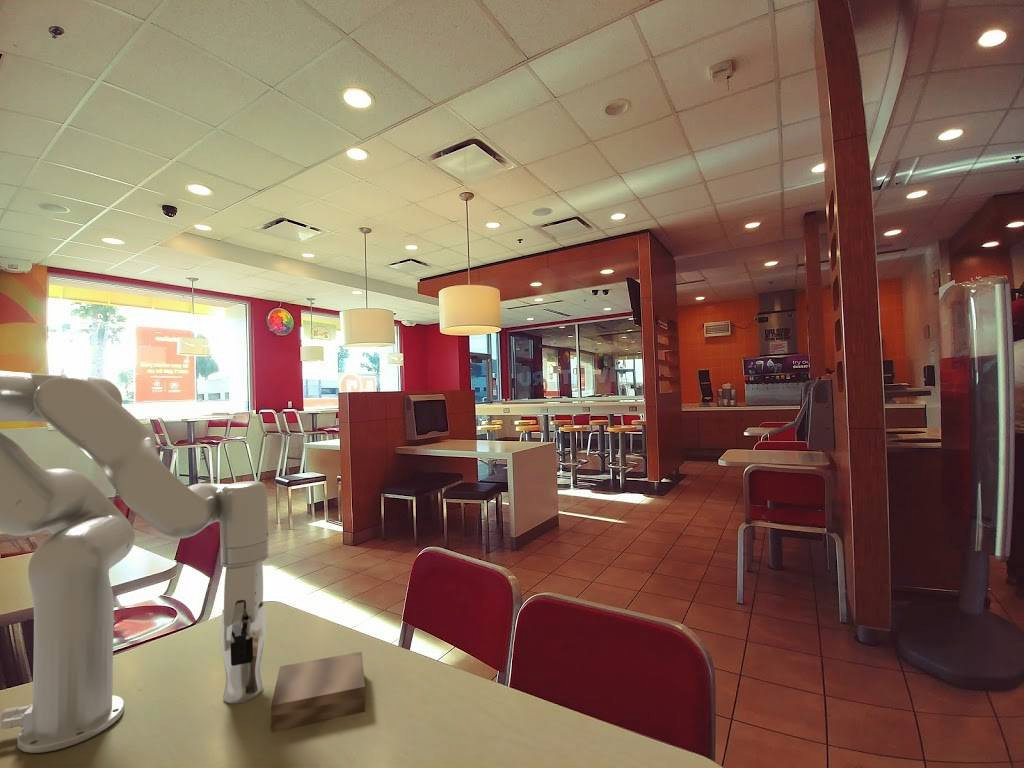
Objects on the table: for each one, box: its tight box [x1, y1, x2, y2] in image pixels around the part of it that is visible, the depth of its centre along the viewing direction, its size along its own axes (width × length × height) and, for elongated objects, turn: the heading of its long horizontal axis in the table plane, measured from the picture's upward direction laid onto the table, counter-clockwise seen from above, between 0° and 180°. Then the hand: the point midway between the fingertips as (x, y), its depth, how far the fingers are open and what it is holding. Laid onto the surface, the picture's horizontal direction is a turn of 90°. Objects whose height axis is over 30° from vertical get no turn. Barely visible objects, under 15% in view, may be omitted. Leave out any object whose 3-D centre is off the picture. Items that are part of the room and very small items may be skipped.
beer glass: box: [220, 600, 267, 705], centre depth 85 cm, size 7×7×15 cm
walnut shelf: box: [270, 651, 366, 733], centre depth 83 cm, size 14×12×4 cm
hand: (247, 649), depth 86 cm, fingers open, 9 cm apart
